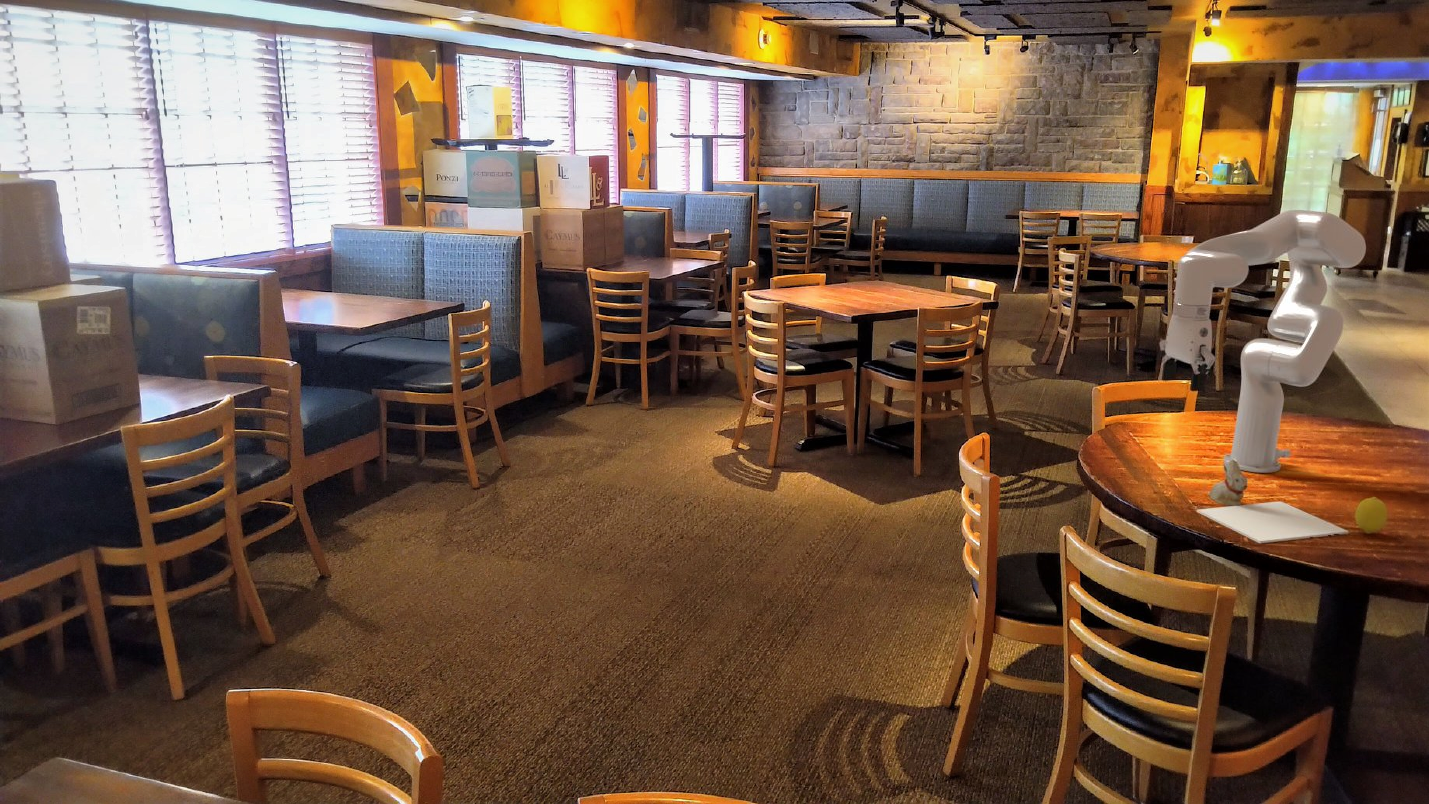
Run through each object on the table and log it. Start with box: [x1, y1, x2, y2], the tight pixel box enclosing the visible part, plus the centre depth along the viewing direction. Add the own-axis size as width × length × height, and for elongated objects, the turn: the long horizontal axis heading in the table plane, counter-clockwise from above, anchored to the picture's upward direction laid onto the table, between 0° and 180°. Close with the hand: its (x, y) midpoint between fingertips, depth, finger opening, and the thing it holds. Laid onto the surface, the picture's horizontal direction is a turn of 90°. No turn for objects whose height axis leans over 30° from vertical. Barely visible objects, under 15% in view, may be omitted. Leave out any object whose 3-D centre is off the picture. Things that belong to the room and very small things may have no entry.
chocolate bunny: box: [1208, 460, 1248, 507], centre depth 228 cm, size 6×8×10 cm
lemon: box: [1354, 496, 1388, 535], centre depth 211 cm, size 6×6×8 cm
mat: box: [1196, 501, 1349, 544], centre depth 217 cm, size 22×18×1 cm
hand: (1182, 385), depth 234 cm, fingers open, 9 cm apart
